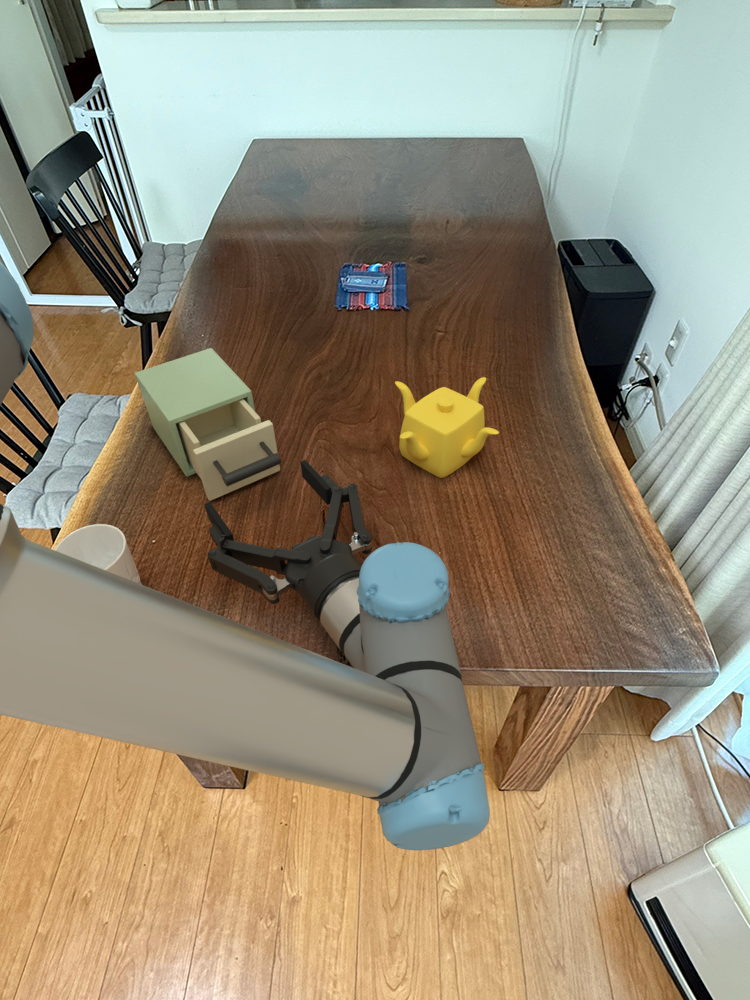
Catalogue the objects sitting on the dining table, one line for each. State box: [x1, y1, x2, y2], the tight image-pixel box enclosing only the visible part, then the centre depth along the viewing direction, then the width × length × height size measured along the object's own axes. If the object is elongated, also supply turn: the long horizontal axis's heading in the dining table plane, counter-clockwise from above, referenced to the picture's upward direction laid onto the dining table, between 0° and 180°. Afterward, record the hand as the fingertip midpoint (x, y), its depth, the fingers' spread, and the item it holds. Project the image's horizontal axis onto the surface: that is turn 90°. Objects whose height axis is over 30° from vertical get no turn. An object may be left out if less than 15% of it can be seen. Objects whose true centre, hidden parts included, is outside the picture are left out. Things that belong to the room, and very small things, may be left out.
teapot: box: [394, 376, 500, 479], centre depth 90 cm, size 15×14×10 cm
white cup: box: [54, 523, 143, 585], centre depth 70 cm, size 8×8×10 cm
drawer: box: [175, 399, 282, 502], centre depth 87 cm, size 18×11×9 cm, turn 34°
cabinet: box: [134, 347, 256, 478], centre depth 93 cm, size 15×13×11 cm
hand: (258, 488), depth 77 cm, fingers open, 13 cm apart
